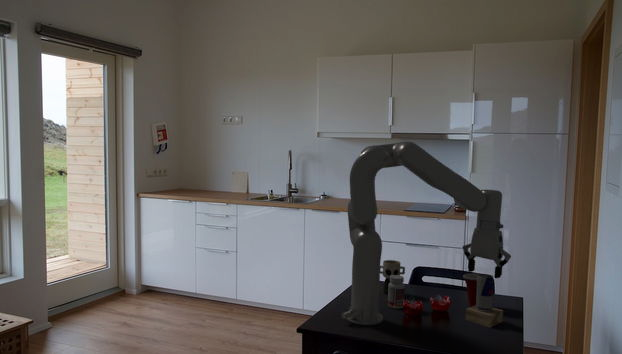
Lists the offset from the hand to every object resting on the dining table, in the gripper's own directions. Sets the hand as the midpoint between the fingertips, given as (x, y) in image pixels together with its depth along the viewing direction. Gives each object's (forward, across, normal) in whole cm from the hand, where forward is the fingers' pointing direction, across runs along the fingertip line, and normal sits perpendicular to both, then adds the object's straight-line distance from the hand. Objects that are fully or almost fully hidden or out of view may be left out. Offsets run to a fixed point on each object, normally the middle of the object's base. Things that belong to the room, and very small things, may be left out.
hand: (484, 274), depth 165 cm
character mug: (+18, +40, -1) cm, 44 cm away
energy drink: (+13, -1, -1) cm, 13 cm away
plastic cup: (+16, +9, -14) cm, 24 cm away
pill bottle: (+18, +28, +11) cm, 35 cm away
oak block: (+16, -1, -1) cm, 16 cm away
